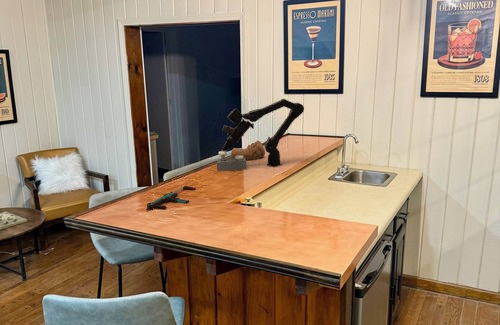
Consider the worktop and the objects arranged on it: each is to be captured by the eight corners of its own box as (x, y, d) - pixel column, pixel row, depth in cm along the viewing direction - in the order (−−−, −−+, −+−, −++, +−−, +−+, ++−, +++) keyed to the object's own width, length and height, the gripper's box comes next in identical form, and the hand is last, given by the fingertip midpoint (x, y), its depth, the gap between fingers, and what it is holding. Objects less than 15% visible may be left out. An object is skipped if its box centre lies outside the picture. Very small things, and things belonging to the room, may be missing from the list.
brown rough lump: (257, 167, 245) (270, 155, 254) (253, 152, 240) (267, 140, 249) (232, 163, 256) (246, 151, 266) (228, 149, 251) (242, 137, 261)
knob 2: (243, 165, 235) (243, 154, 233) (244, 167, 230) (243, 156, 229) (235, 166, 234) (234, 155, 233) (235, 168, 230) (235, 157, 228)
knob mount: (245, 165, 236) (245, 157, 235) (246, 169, 229) (245, 160, 227) (218, 167, 236) (217, 159, 235) (217, 171, 228) (216, 162, 227)
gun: (169, 210, 167) (139, 206, 173) (170, 215, 168) (140, 211, 174) (208, 188, 195) (181, 185, 201) (208, 192, 195) (181, 189, 201)
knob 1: (227, 161, 234) (226, 150, 232) (227, 163, 229) (226, 152, 228) (219, 162, 233) (218, 151, 232) (219, 164, 229) (218, 153, 227)
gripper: (229, 117, 235) (212, 138, 237) (230, 122, 217) (210, 144, 219) (244, 130, 237) (226, 150, 239) (246, 135, 219) (226, 157, 221)
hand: (222, 150), depth 229 cm, fingers closed
